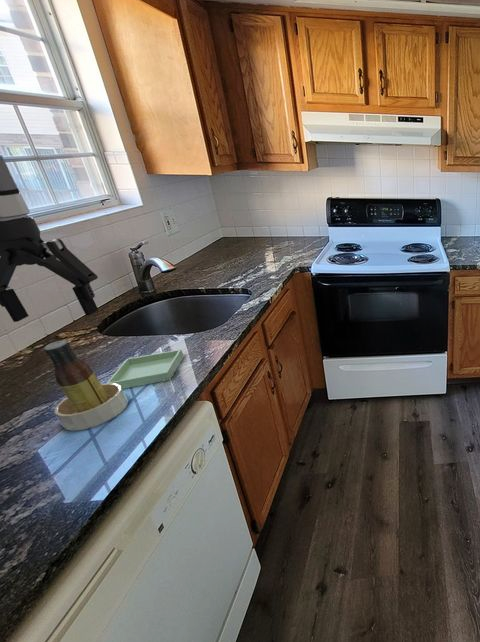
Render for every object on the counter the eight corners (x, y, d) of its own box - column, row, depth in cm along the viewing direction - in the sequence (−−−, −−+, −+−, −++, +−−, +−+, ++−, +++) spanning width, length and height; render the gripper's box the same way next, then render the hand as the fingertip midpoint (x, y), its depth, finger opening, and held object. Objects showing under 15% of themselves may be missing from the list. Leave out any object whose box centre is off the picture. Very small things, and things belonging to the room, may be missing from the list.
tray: (109, 391, 99) (105, 384, 98) (129, 365, 110) (126, 358, 109) (170, 379, 103) (167, 372, 102) (183, 355, 114) (181, 349, 113)
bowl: (51, 436, 84) (41, 421, 82) (80, 403, 95) (72, 389, 93) (115, 422, 88) (107, 408, 86) (136, 392, 98) (129, 378, 96)
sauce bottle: (100, 401, 95) (63, 335, 86) (119, 404, 93) (84, 337, 85) (72, 419, 89) (29, 349, 80) (92, 422, 88) (51, 352, 79)
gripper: (90, 210, 76) (131, 303, 85) (-52, 218, 72) (7, 313, 81) (62, 218, 69) (109, 317, 78) (-96, 226, 65) (-27, 329, 74)
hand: (57, 315), depth 80 cm, fingers open, 13 cm apart
